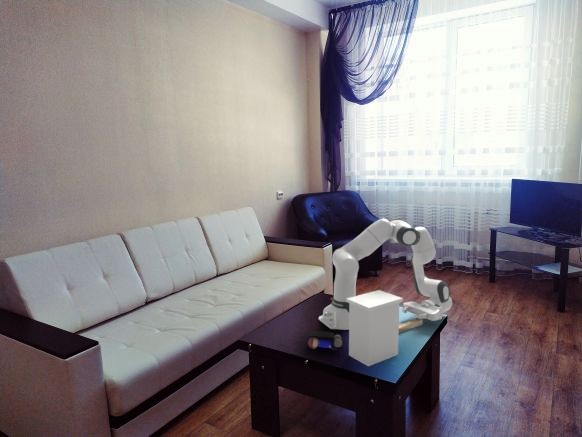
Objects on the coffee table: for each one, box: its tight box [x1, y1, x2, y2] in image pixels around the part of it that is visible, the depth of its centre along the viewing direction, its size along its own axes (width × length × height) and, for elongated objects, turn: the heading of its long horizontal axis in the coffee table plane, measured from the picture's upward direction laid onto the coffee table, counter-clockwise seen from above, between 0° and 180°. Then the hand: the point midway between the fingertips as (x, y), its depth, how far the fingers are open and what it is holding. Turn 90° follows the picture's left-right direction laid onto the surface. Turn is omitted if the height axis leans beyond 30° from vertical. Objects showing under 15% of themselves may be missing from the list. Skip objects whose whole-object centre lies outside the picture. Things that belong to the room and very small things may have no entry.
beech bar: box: [399, 317, 424, 334], centre depth 212 cm, size 3×26×3 cm, turn 126°
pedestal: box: [346, 289, 404, 367], centre depth 184 cm, size 14×20×26 cm
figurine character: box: [307, 330, 343, 351], centre depth 193 cm, size 7×8×15 cm
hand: (410, 314), depth 214 cm, fingers open, 8 cm apart
